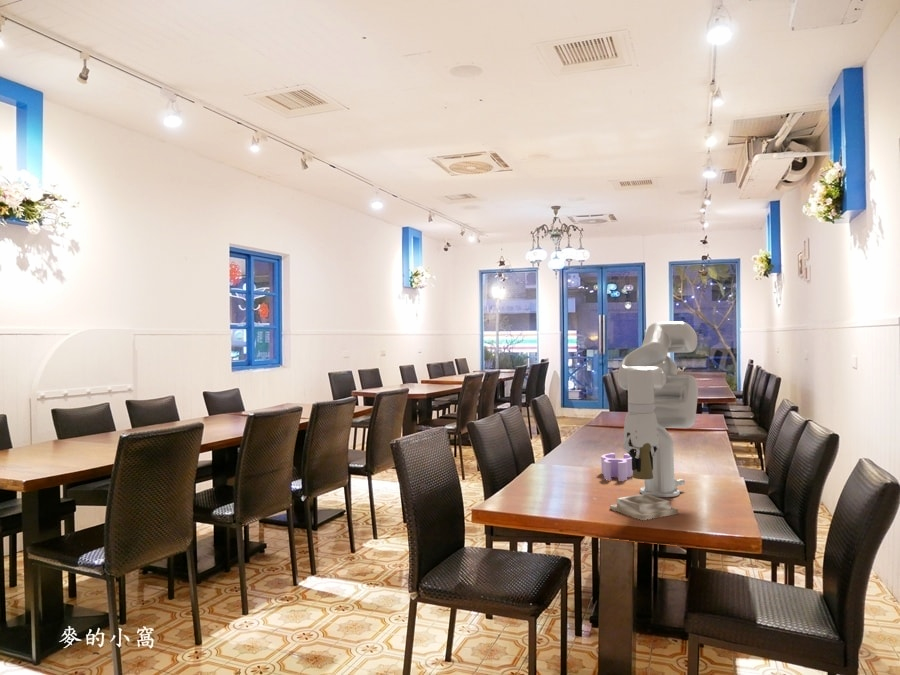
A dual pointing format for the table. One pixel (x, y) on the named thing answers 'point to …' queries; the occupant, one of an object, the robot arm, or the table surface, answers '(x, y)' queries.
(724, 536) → the table surface
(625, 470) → the clip
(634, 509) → the socket board
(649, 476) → the cork
